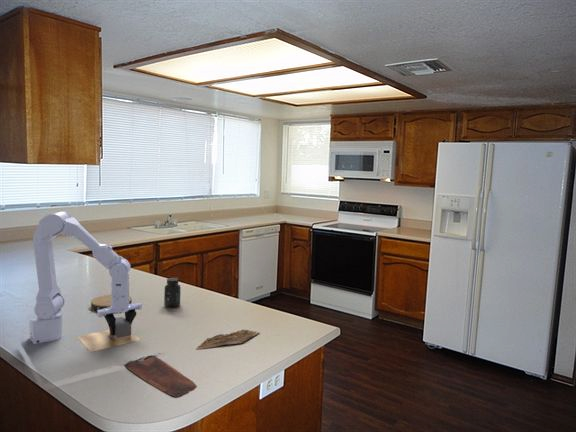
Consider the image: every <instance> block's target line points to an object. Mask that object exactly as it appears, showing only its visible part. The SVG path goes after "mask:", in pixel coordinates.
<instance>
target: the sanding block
mask: <svg viewBox="0 0 576 432" xmlns="http://www.w3.org/2000/svg"><path fill="white" fill-rule="evenodd" d="M115 318H116V320H115V335H113V337H114V338H115V339H116V340H117V341H120V340H124V339H128V338H131V333H132V324H131V323H130V322H128V321H127V320H126V319H125V316H118V317H115ZM108 330H109V333H110V329H108ZM110 334H111V333H110Z"/></svg>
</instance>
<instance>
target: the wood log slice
mask: <svg viewBox="0 0 576 432" xmlns="http://www.w3.org/2000/svg"><path fill="white" fill-rule="evenodd" d="M132 301H133V299H132V297H131V296H130V295H129V304H132ZM90 306H91V307H90V308H91V310H93V311H94V312H97V310H102V309H105V308H108V307H111V294H105V295H104V294H103V295H99V296H97V297H94V298H93V299H92V300H91V301H90Z"/></svg>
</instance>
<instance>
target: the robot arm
mask: <svg viewBox="0 0 576 432" xmlns="http://www.w3.org/2000/svg"><path fill="white" fill-rule="evenodd" d="M60 233H61V235H65V236H73V237H74V238H75V239H77V240H78V241H79V242H81V243H82V244H83V245H84V246H86V247H87V248H88V249H89V250H90V251H91V252H92V257H93V259H95V260H96V261H97V262H99V264H101V265H102V266H103V267H104V268H105V269H106V270H108V273H109V276H110V277H111V283H110V286H111V289H110V290H111V291H110V292H111V293H110V295H111V307H108V308H105V309H102V310H97V311H96V312H97V315H96V316H97V317H98V318H104V319H105V321H106V322H107V325H108V328H109V329H108V330H110V333H111V335H112V336H113V335H115V320H116V318H117V317H115V315H116V314H121V313H124V318H125V319H126V320H127V321H128V322H130V323H131V325H133V323H134V322H133V321H134V319H135V318H136V316H137V310H139V311H140V310H142V309H143V303H141V302H138V303H137V302H136V303H135V302H134V303H131V304H129V296H130V274H129V273H130V271H131V267H132V266H131V262H129V261H128V259H126V258H124V257H123V256H122V255H118V253H117V252H116V251H114V249H113V246H111V244H109V245H107V244H106V243H100V242H99V241H98V240H97V239H96V238H95V237H94V236H93V235H92V234H91V233H90V232H89V231H87V229H86V228H85V227H84V226H83V225H82V224H81V223H79V221H78V220H77V219H76V218H75V217H74V216H72V215H71V214H70V213H68V211H64V210H60V211H59V210H58V211H57V212H54V213H49V214H47V215H45V216H44V217H42V218H41V219H39V221H38V226H37V227H36V230H35V232H34V233H33V236H32V242H33V250H34V258H35V266H36V275H37V276H36V277H37V284H38V292H37V294H36V296H35V300H36V301H35V302H36V304H35V306H34V308H33V309H34V310H33V311H34V314H35V316H36V317H35V318H34V317H33V318H30V320H29V342H32V344H33V345H36V344H41V343H47V342H53V341H57V340H60V339H61V338H63V312H62V309H63V307H64V306H65V297H64V296H63V295H62V293H61V288H60V287H59V286H58V283H57V274H56V266H55V259H54V251H53V250H54V247H53V240H54V239H55V238H56V237H57V236H58V235H60Z"/></svg>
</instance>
